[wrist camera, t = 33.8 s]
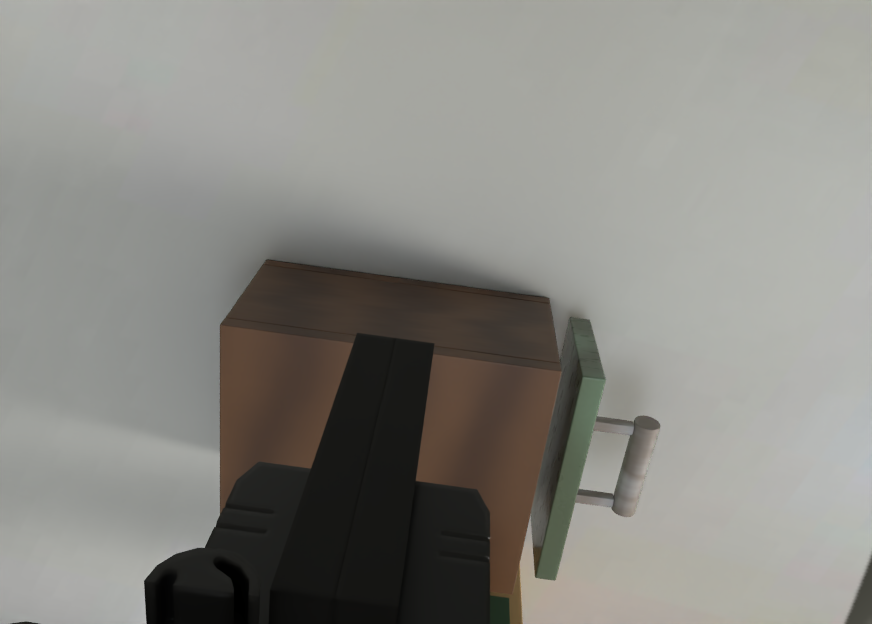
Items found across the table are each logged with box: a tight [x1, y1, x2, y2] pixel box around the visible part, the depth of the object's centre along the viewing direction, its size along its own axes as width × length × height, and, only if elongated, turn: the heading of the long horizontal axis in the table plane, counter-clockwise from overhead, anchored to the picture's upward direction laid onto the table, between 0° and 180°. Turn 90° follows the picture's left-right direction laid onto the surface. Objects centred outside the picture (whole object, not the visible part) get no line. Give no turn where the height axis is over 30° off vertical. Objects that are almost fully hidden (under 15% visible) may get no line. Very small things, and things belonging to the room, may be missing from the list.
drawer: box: [531, 317, 660, 580], centre depth 44 cm, size 20×13×7 cm
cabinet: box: [220, 260, 562, 595], centre depth 44 cm, size 17×15×9 cm
